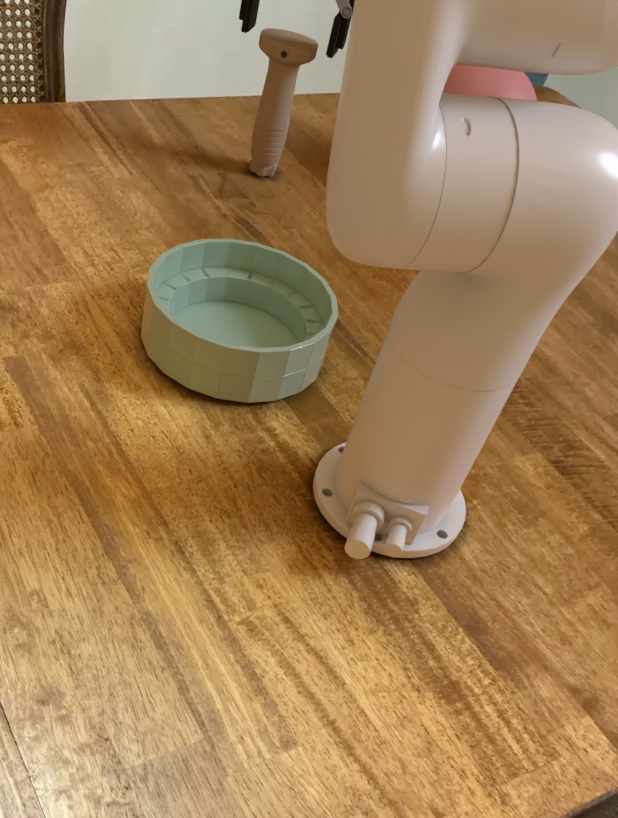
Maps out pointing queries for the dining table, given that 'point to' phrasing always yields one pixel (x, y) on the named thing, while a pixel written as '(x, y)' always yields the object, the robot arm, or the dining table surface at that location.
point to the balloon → (489, 83)
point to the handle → (277, 95)
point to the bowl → (237, 319)
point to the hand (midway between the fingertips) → (289, 41)
